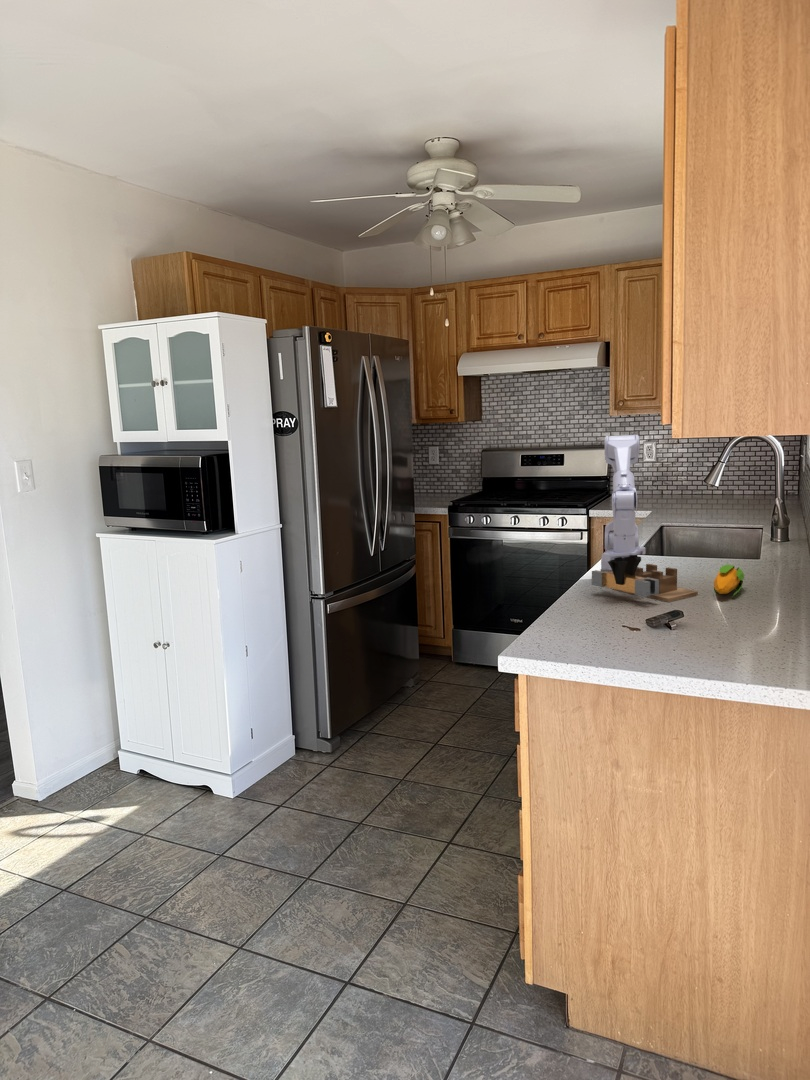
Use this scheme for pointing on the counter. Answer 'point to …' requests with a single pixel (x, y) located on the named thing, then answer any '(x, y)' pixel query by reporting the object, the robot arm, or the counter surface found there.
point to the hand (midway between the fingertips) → (624, 583)
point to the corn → (728, 580)
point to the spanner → (626, 583)
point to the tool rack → (664, 584)
